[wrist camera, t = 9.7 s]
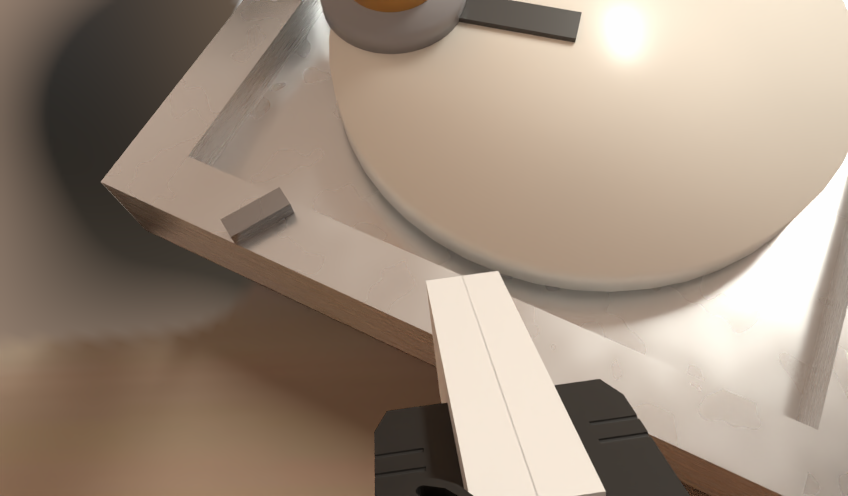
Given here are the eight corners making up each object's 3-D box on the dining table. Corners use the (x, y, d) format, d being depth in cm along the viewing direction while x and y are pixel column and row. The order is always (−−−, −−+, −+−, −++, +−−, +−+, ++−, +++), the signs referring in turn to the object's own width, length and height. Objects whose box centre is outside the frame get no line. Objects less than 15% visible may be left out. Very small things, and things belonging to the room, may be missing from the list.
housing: (428, -160, 33) (426, -250, 29) (936, -13, 28) (1012, -99, 24) (144, 230, 24) (89, 172, 20) (810, 544, 19) (898, 543, 16)
